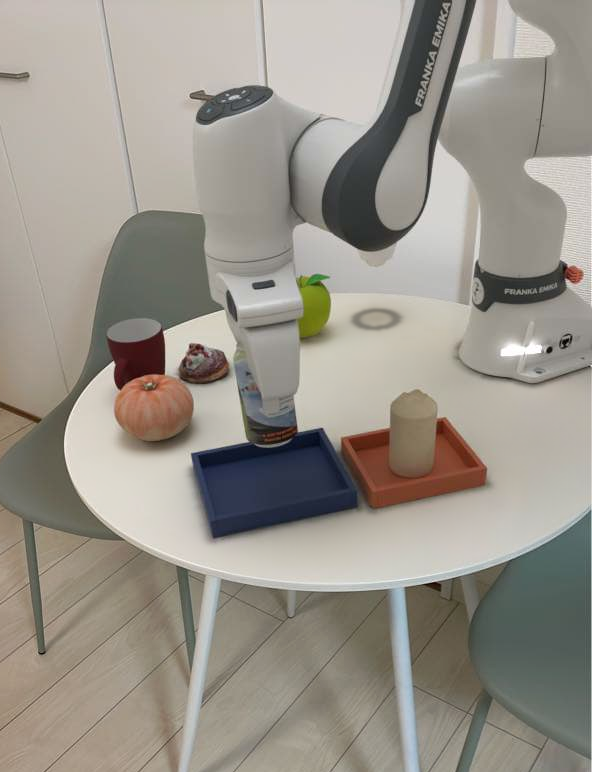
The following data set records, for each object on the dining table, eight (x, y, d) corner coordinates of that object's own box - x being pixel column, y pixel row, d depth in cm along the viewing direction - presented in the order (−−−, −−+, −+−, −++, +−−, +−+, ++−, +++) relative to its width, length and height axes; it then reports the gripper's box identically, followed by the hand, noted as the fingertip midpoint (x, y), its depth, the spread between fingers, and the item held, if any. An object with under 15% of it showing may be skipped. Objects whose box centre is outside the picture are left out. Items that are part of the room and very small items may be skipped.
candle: (383, 474, 93) (385, 403, 87) (395, 450, 97) (397, 381, 91) (427, 481, 91) (432, 410, 85) (438, 457, 95) (443, 386, 89)
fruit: (280, 322, 130) (275, 264, 123) (334, 322, 128) (332, 264, 122) (272, 346, 123) (267, 287, 116) (328, 347, 122) (326, 286, 115)
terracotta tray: (444, 432, 100) (445, 416, 99) (485, 485, 91) (487, 468, 89) (341, 453, 98) (340, 437, 97) (372, 509, 89) (372, 492, 87)
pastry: (171, 380, 116) (165, 350, 113) (192, 358, 122) (188, 329, 118) (218, 386, 114) (213, 356, 111) (237, 363, 119) (234, 334, 116)
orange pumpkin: (109, 426, 107) (97, 376, 102) (179, 404, 111) (170, 354, 106) (136, 462, 100) (124, 410, 95) (210, 436, 103) (202, 384, 98)
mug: (156, 415, 109) (142, 352, 102) (105, 412, 110) (88, 349, 104) (181, 380, 116) (170, 319, 110) (132, 377, 118) (119, 316, 112)
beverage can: (261, 461, 84) (249, 362, 77) (233, 433, 89) (219, 338, 82) (309, 444, 86) (302, 346, 79) (280, 417, 91) (271, 323, 84)
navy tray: (323, 443, 100) (322, 427, 99) (357, 507, 89) (357, 490, 88) (193, 469, 98) (190, 453, 96) (212, 538, 87) (209, 521, 85)
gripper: (204, 246, 84) (219, 360, 92) (241, 319, 68) (255, 447, 77) (259, 238, 84) (269, 351, 93) (308, 308, 69) (315, 435, 78)
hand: (263, 395), depth 85 cm, fingers closed on beverage can, 5 cm apart
